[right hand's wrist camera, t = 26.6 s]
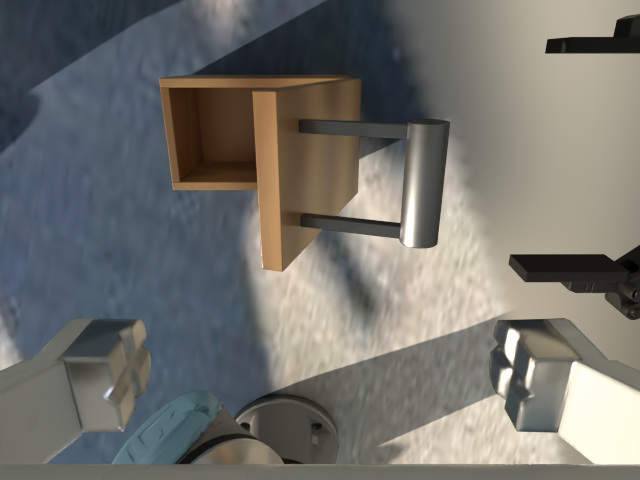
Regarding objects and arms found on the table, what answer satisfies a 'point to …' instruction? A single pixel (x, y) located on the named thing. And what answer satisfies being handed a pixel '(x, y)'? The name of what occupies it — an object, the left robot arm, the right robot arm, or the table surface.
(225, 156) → the chest
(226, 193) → the table surface
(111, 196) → the table surface
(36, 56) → the table surface
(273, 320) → the table surface
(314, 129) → the lid
